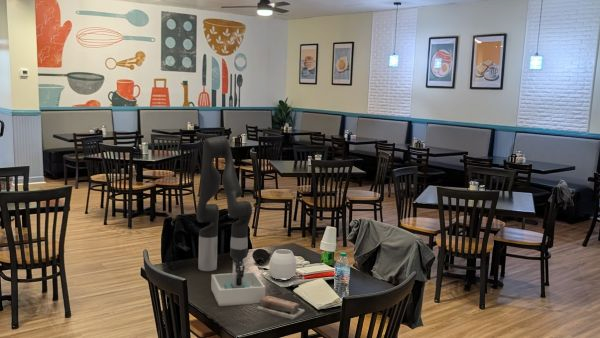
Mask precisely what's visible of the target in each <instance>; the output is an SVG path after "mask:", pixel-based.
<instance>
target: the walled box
mask: <svg viewBox="0 0 600 338" xmlns="http://www.w3.org/2000/svg"><path fill="white" fill-rule="evenodd" d="M210 276H211V281H210V282H211V287H210V290H211V292H212V294H213V296H214V299H215V302H216V304H217V305H218V307H226V306H237V305H238V306H239V305H251V304H260V299H262V298H263V297H265V296H266V290H267V289H266V285H264V283H263V282H262V280H261V279H260V277H259V276H258V275H257V273H256V272H255V271H249V272H247V271H246V272H245V271H244V275H243V288H234V289H233V288H232V277H233V272H232V273H217V274H211V275H210Z"/></svg>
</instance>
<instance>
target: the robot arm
mask: <svg viewBox="0 0 600 338" xmlns="http://www.w3.org/2000/svg"><path fill="white" fill-rule="evenodd" d="M203 141H204V142H203V145H202V146H203V147H202V170H201V175H200V187H199V196H198V202H197V207H196V212H195V214H196V216H195V217H196V220H197V222H198V223H201V224H204V223H206V224H207V223H210V224H209V225H207V226H205V227H203V228H200V229H199V232H198V261H197V262H198V265H197V266H198V270H200V271H202V272H212V271H215V270H217V268H218V264H217V263H218V236H219V235H218V231H219V217H220V214H219V213H220V208H219V206H218V204H216V203H208V202H209V201H210V200H211V199H212V198H213V197H214V196H215V195H216V194H217V193H218V192H219V190H220V186H221V183H222V187H223V189H224V192H225V195H226V202H227V203H226V204H227V213H228V214H229V216H230V217H231V218H232V219H238V220H237V221H235V222H233V223H232V224H231V231H230V232H231V234H230V243H229V245H230V246H229V247H230V248H229V249H230V250H229V257H231V258H232V264H233V263H234V265H235V272H236V285H237V286H241V284H242V277H243V275H244V273H245V263H244V260H243V259H245V258H247V257H248V243H249V241H248V240H249V239H248V233H249V232H248V228H249V225H250V221H251V218H252V214H253V206H252V204H251V202H249V201H248V200H240V201H237V199H238V198H240V197H242V196H243V195H242V194H243V191H242V187H241V184H240V181H239V180H238V176H237V172H236V168H235V164H234V163H235V162H234V157H233V153H232V149H231V145H230V142H229V140H228V138H227V136H225V135H218V136H213V137H207V138H205V139H204V140H203ZM220 157H221V158H222V157H223V158H224V162H225V163H224V169H223V173H222V176H221V174H220V172H219V171H218V169H217V168H216V167H215V165H214V164H213V160H214V159H215V158H220ZM243 265H244V266H243ZM237 269H238V270H237ZM239 274H241V275H239Z"/></svg>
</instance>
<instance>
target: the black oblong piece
mask: <svg viewBox="0 0 600 338" xmlns="http://www.w3.org/2000/svg"><path fill="white" fill-rule="evenodd" d="M270 251H271V250H270V249H268V250H266V249H263V248H257V249H255V250H254V251H253V252H252V256H251V257H252V259H253V261H254V262H255V264H257V265H258V266H262V265H264V264H266V263H268V261H270V259H271V257H272V252H270ZM260 263H263V264H260Z"/></svg>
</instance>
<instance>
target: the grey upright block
mask: <svg viewBox="0 0 600 338" xmlns="http://www.w3.org/2000/svg"><path fill="white" fill-rule="evenodd" d="M243 266H244V267H245V264H244V265H243ZM237 270H238V269H237ZM232 273H233V277H232V288H233V289H234V288H243V277H242V284H241V286H237V285H236V272H235V265H234V263H233V262H232ZM239 275H241V274H239Z"/></svg>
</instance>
